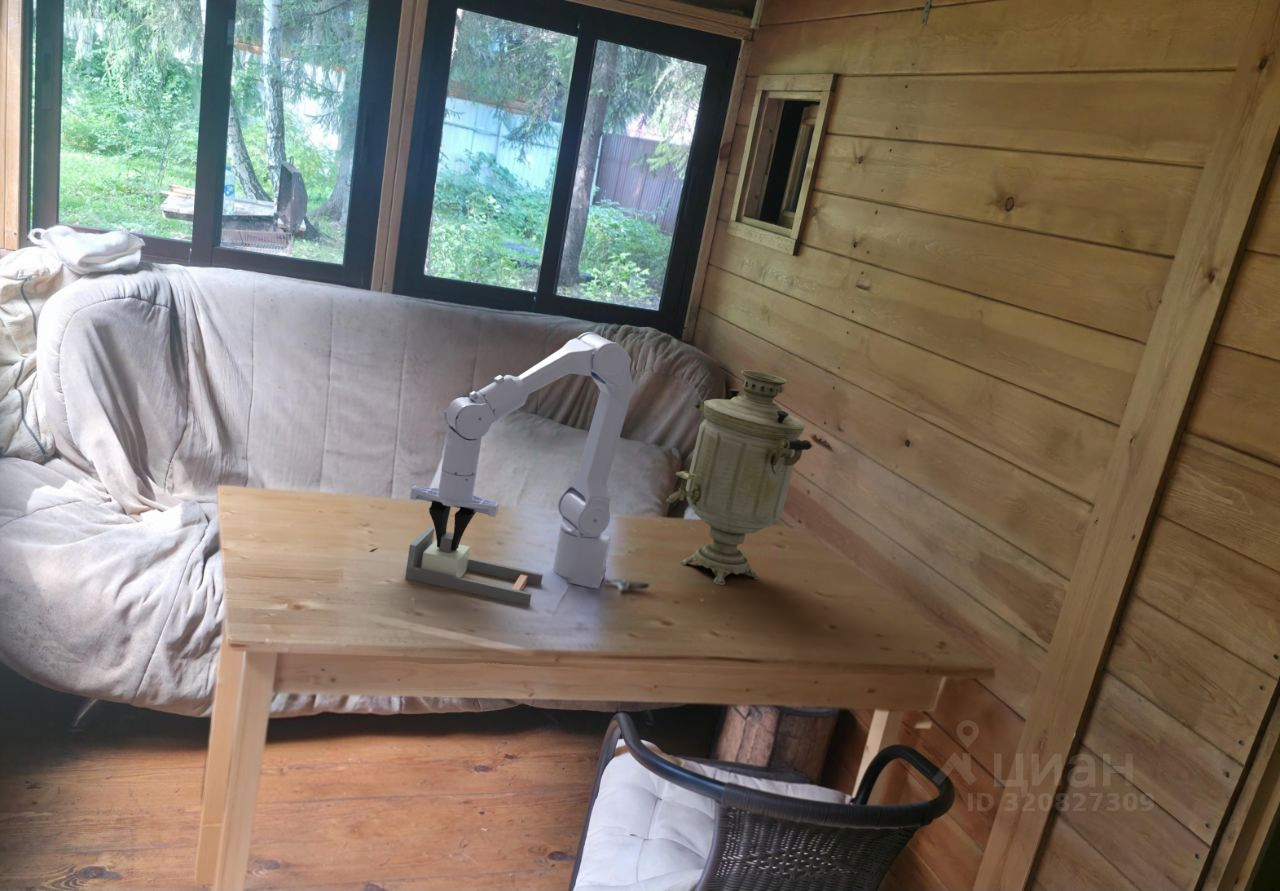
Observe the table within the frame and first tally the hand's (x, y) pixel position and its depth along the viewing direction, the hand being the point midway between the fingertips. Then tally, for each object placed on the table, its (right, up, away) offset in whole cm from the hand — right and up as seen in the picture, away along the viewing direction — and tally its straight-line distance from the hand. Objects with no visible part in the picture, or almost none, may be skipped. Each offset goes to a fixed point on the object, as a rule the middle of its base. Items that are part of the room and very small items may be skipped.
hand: (447, 547), depth 169 cm
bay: (+4, -7, +1) cm, 8 cm away
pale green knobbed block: (-1, -5, +1) cm, 5 cm away
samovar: (+45, -8, +31) cm, 55 cm away
